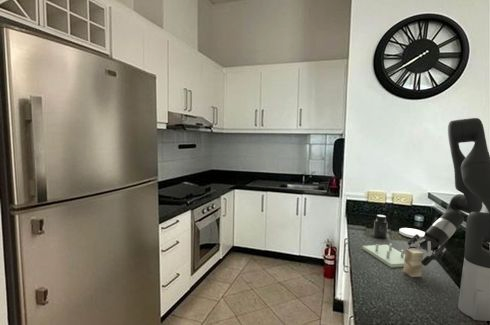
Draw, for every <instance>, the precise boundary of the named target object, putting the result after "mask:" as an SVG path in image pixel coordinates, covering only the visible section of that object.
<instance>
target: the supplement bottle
mask: <svg viewBox="0 0 490 325" xmlns="http://www.w3.org/2000/svg"><path fill="white" fill-rule="evenodd" d="M388 224H389V223H388V221H387V216H386V215H383V214H377V215H376V219H375V220H374V223H373V233H372V234H373V236H374V237H375V238H377V239H386V238H387V236H388Z"/></svg>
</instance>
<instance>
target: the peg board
mask: <svg viewBox="0 0 490 325" xmlns="http://www.w3.org/2000/svg"><path fill="white" fill-rule="evenodd" d="M362 250H363V251H366V252H367V253H368V254H369V255H371V256H372V257H374V258H376V259H377V260H379V261H381V262H382V263H384V264H385V265H387V266H388V267H389V268H404V260H405V250H404V249H401V250H400V251H399V250H397V249H396V248H394V247H393V243H389V245H388V244H372V245H362Z"/></svg>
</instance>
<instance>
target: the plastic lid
mask: <svg viewBox="0 0 490 325" xmlns="http://www.w3.org/2000/svg"><path fill="white" fill-rule="evenodd" d="M398 232H399V235H402V236H403V237H406V238H410V239H412V238H413V237H414V236H415V235H416V234H418V235H419V236H420V237H423V236H424V235H425V232H426V231H423V230H420V229H416V228H409V227H401V228H399V230H398Z"/></svg>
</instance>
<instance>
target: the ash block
mask: <svg viewBox="0 0 490 325" xmlns="http://www.w3.org/2000/svg"><path fill="white" fill-rule="evenodd" d="M404 254H405V260H404V267H403V270H402V272H403V273H405V274H406V275H408V276H409V277H411V278H416V277H422V271H423V264H422V263H421V261H422V260H423V259H424V252H423V251H421V250H420V249H415V248H412V249H408V248H405V250H404Z"/></svg>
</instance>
